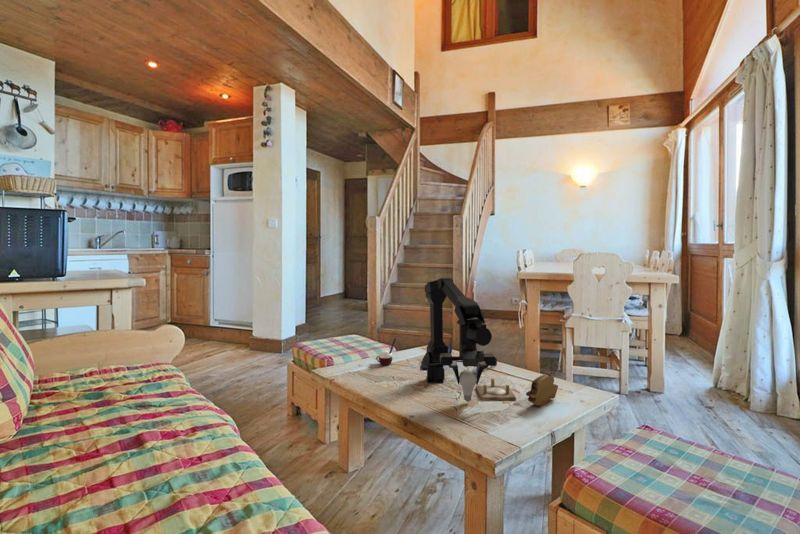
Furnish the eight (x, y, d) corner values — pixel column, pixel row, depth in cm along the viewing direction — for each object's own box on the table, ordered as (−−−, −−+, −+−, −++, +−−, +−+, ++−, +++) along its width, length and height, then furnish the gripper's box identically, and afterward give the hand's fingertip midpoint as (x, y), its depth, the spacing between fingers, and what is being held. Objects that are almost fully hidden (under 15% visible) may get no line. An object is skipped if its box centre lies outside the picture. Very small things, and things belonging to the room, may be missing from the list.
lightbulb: (456, 398, 148) (457, 367, 147) (474, 397, 149) (474, 367, 148) (460, 405, 142) (461, 372, 141) (478, 404, 143) (479, 372, 142)
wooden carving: (546, 395, 152) (546, 368, 151) (558, 399, 149) (559, 371, 148) (523, 408, 140) (523, 379, 140) (535, 412, 137) (536, 382, 137)
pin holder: (481, 400, 148) (481, 388, 148) (476, 388, 160) (476, 377, 160) (515, 400, 148) (515, 388, 148) (508, 388, 160) (508, 377, 160)
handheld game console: (423, 360, 199) (423, 341, 198) (452, 361, 197) (452, 341, 197) (421, 370, 184) (420, 349, 183) (452, 371, 182) (452, 350, 181)
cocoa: (374, 364, 193) (372, 338, 192) (384, 361, 198) (382, 336, 197) (389, 368, 187) (387, 341, 186) (399, 364, 191) (397, 338, 191)
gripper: (441, 344, 136) (441, 392, 137) (500, 344, 136) (500, 392, 137) (439, 337, 147) (439, 381, 148) (493, 336, 147) (493, 381, 148)
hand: (467, 384), depth 145 cm, fingers closed on lightbulb, 6 cm apart
